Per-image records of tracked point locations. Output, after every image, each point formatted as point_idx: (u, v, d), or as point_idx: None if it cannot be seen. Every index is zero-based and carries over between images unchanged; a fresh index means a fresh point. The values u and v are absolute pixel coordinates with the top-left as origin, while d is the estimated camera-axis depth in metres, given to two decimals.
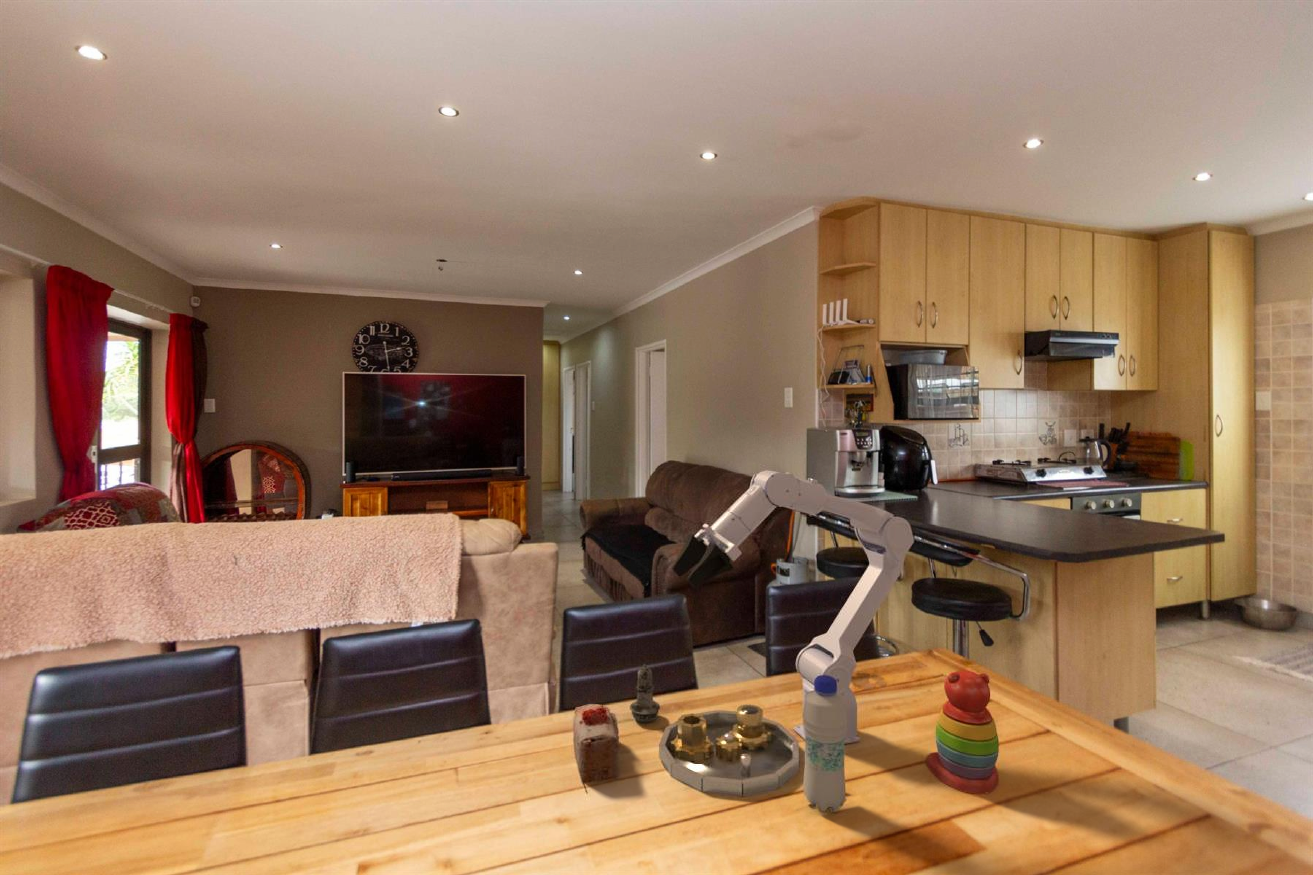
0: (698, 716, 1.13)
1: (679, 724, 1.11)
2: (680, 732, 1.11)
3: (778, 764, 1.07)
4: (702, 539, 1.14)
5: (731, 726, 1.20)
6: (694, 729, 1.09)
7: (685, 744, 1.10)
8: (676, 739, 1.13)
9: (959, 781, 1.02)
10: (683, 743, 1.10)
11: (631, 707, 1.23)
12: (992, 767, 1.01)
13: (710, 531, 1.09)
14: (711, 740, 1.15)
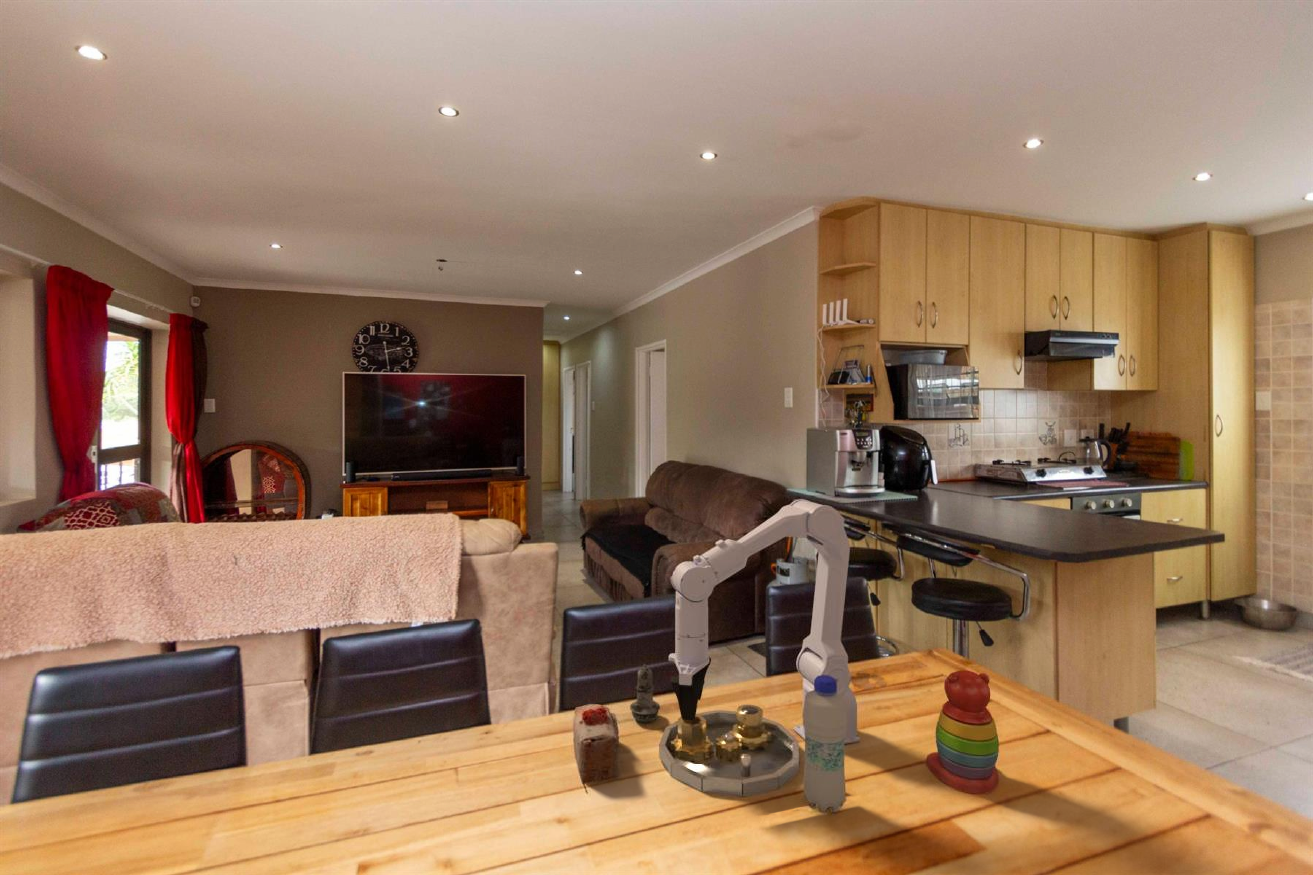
0: (698, 716, 1.13)
1: (679, 724, 1.11)
2: (680, 732, 1.11)
3: (778, 764, 1.07)
4: None
5: (731, 726, 1.20)
6: (694, 729, 1.09)
7: (685, 744, 1.10)
8: (676, 739, 1.13)
9: (959, 781, 1.02)
10: (683, 743, 1.10)
11: (631, 707, 1.23)
12: (992, 767, 1.01)
13: (673, 660, 1.11)
14: (711, 740, 1.15)
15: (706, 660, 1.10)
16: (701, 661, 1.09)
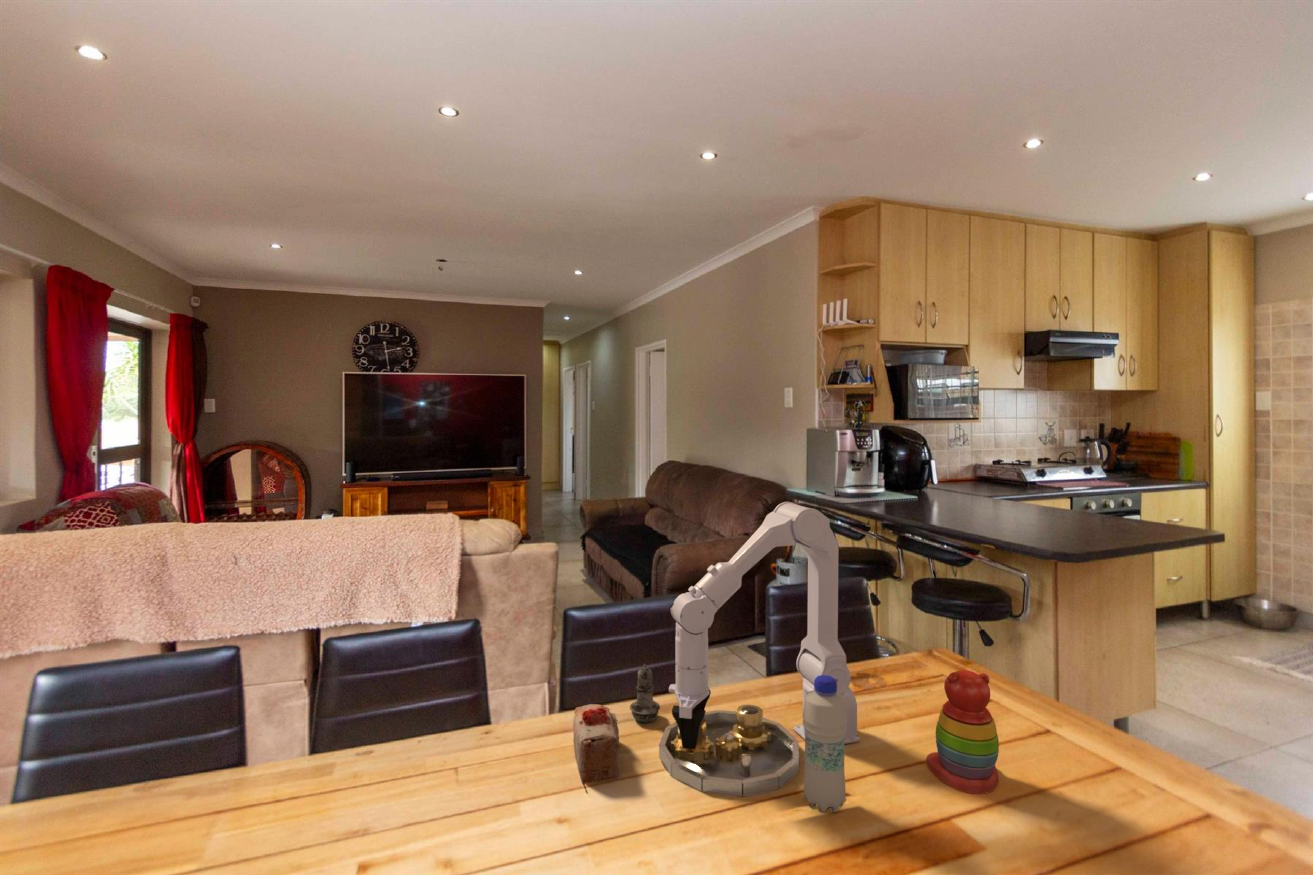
0: None
1: None
2: None
3: (778, 764, 1.07)
4: None
5: (731, 726, 1.20)
6: None
7: None
8: (676, 739, 1.13)
9: (959, 781, 1.02)
10: None
11: (631, 707, 1.23)
12: (992, 767, 1.01)
13: (674, 692, 1.11)
14: (711, 740, 1.15)
15: (706, 692, 1.10)
16: (701, 693, 1.09)
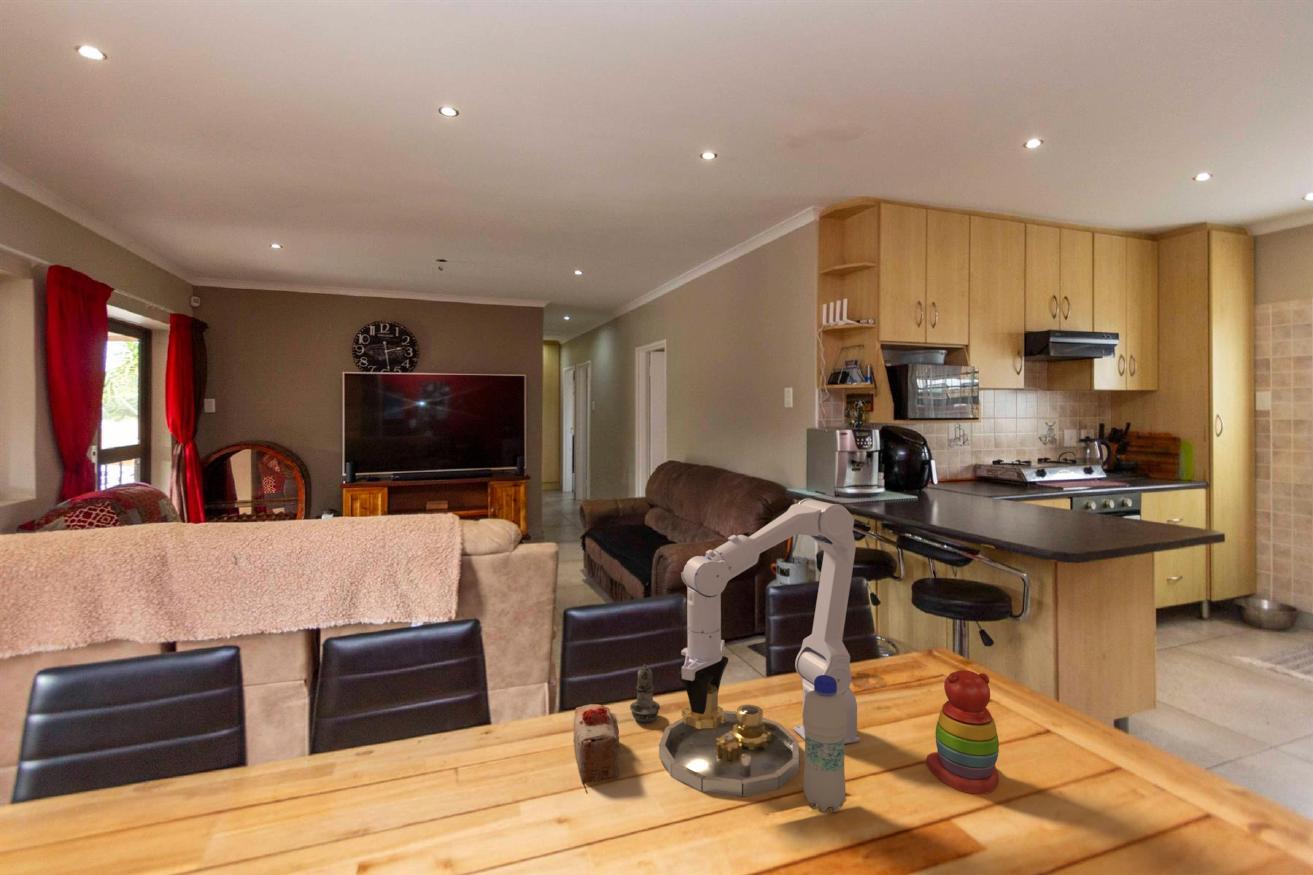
0: (712, 685, 1.11)
1: None
2: None
3: (778, 764, 1.07)
4: None
5: (731, 726, 1.20)
6: None
7: None
8: (688, 706, 1.12)
9: (959, 781, 1.02)
10: None
11: (631, 707, 1.23)
12: (992, 767, 1.01)
13: (685, 655, 1.10)
14: (711, 740, 1.15)
15: (716, 657, 1.07)
16: (710, 658, 1.07)
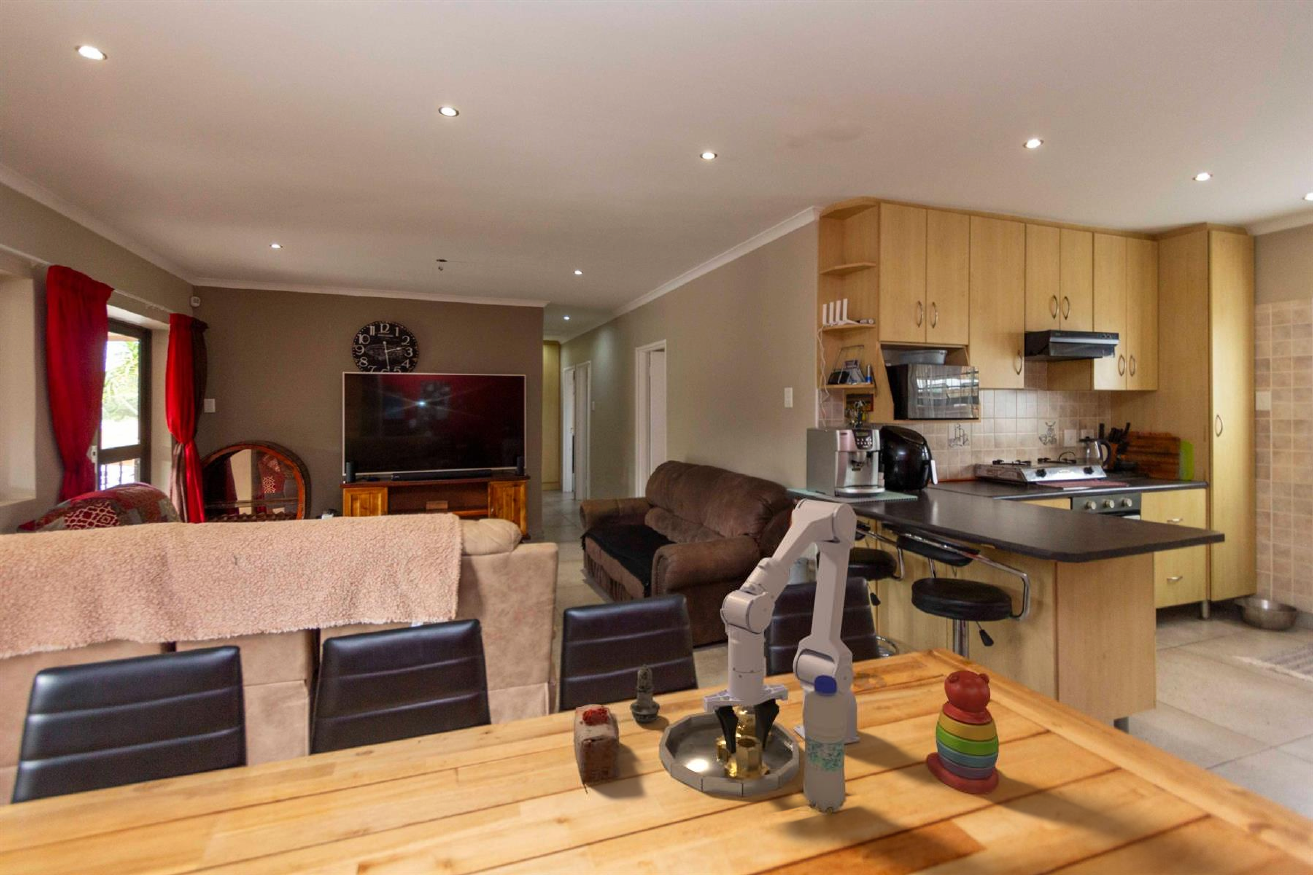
0: (758, 742, 1.04)
1: None
2: None
3: (778, 764, 1.07)
4: None
5: None
6: (739, 752, 1.02)
7: (733, 764, 1.04)
8: None
9: (959, 781, 1.02)
10: (732, 762, 1.04)
11: (631, 707, 1.23)
12: (992, 767, 1.01)
13: None
14: (711, 740, 1.15)
15: (747, 700, 1.01)
16: (739, 698, 1.01)
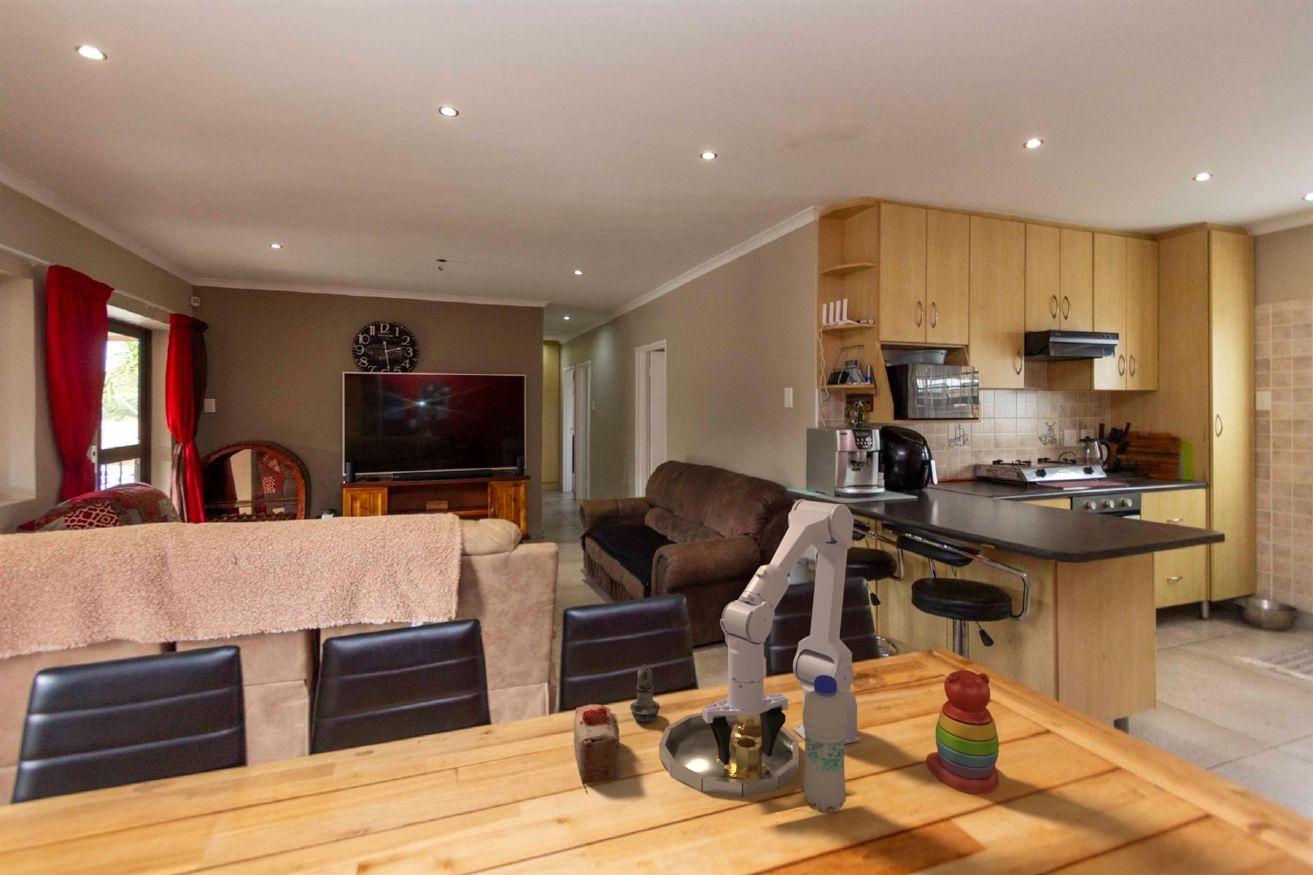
0: (758, 742, 1.04)
1: None
2: None
3: (778, 764, 1.07)
4: None
5: (731, 726, 1.20)
6: (738, 752, 1.02)
7: (733, 764, 1.04)
8: None
9: (959, 781, 1.02)
10: (732, 762, 1.04)
11: (631, 707, 1.23)
12: (992, 767, 1.01)
13: None
14: (711, 740, 1.15)
15: (747, 710, 1.01)
16: (739, 708, 1.01)
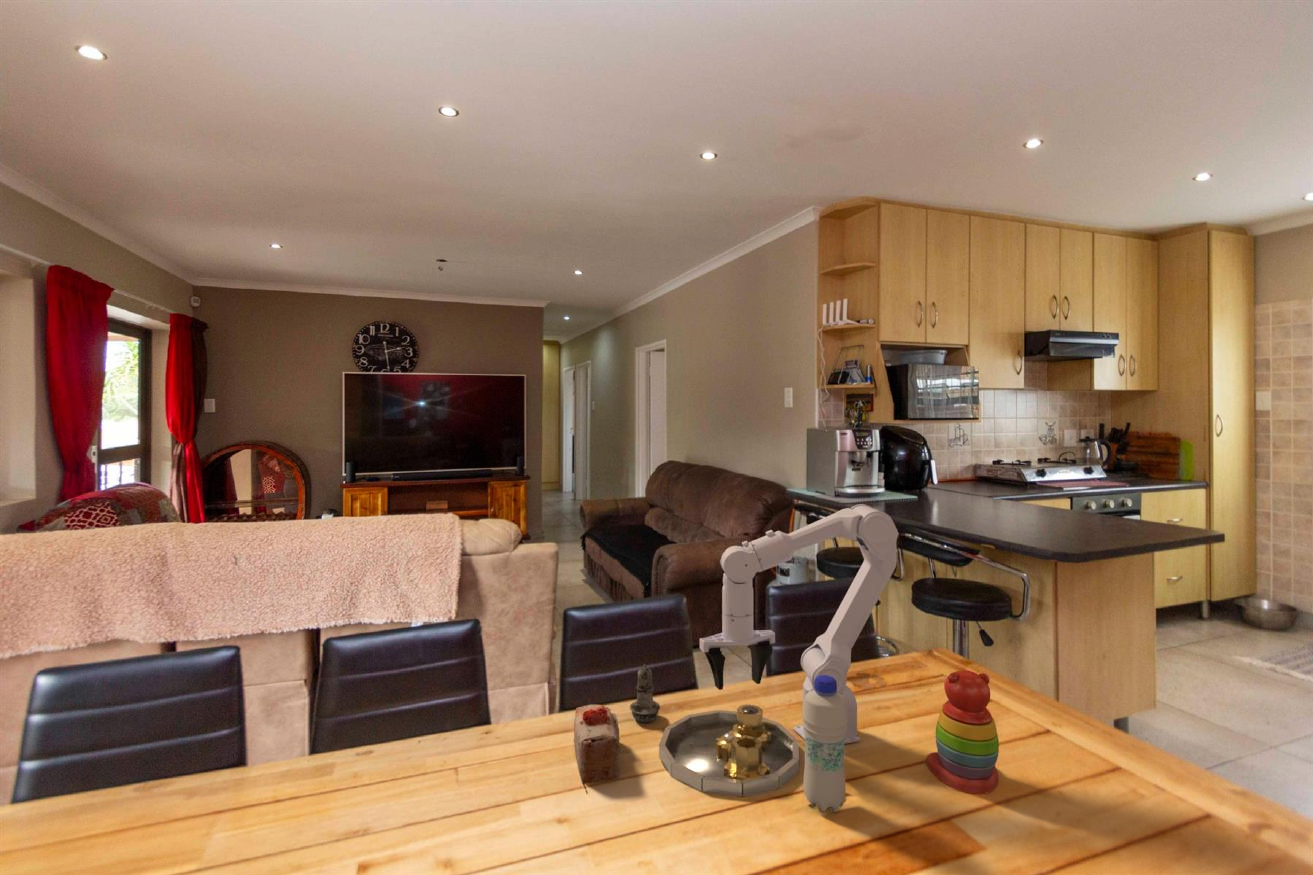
0: (758, 742, 1.04)
1: None
2: None
3: (778, 764, 1.07)
4: None
5: (731, 726, 1.20)
6: (738, 752, 1.02)
7: (733, 764, 1.04)
8: None
9: (959, 781, 1.02)
10: (732, 762, 1.04)
11: (631, 707, 1.23)
12: (992, 767, 1.01)
13: None
14: (711, 740, 1.15)
15: (738, 641, 1.15)
16: (732, 639, 1.15)
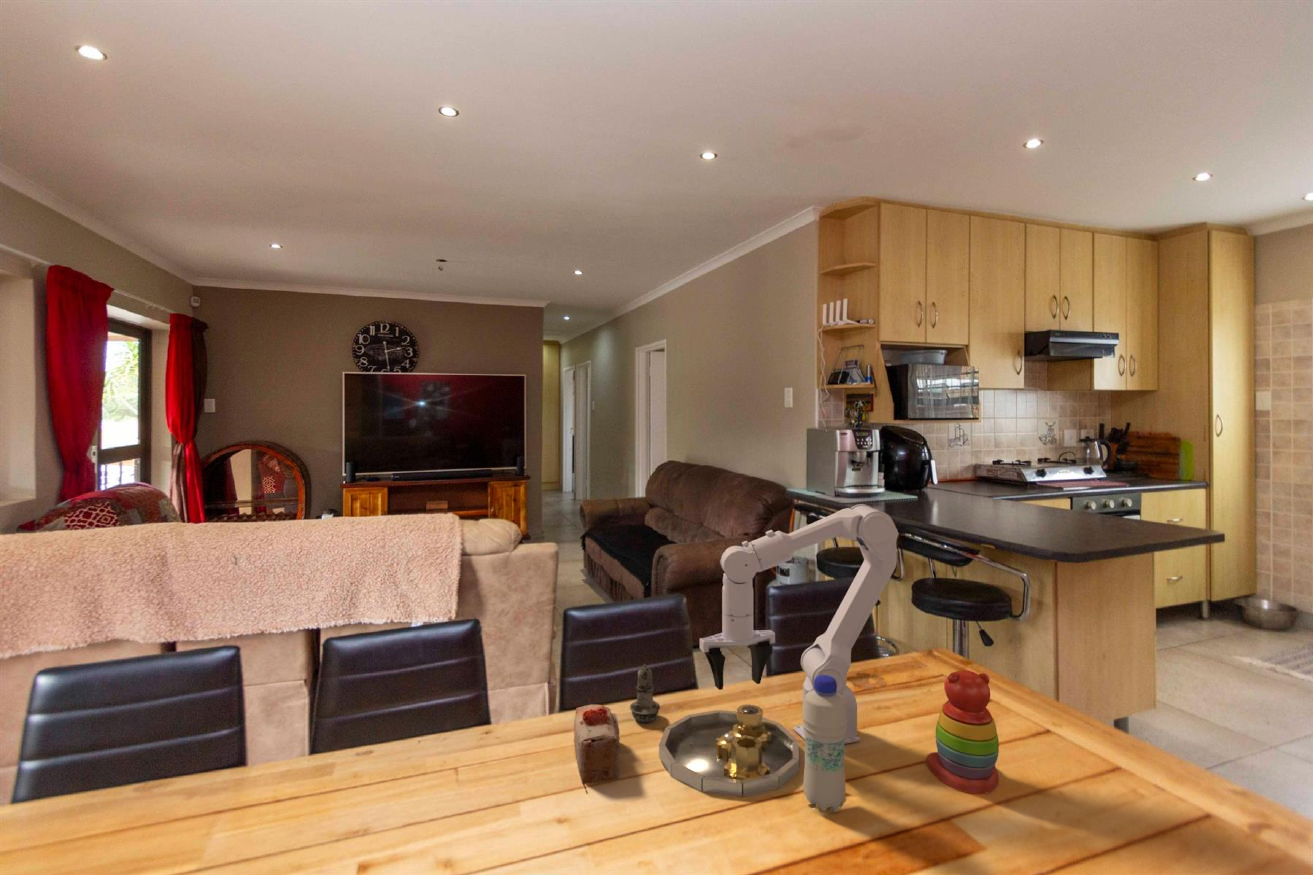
0: (758, 742, 1.04)
1: None
2: None
3: (778, 764, 1.07)
4: None
5: (731, 726, 1.20)
6: (738, 752, 1.02)
7: (733, 764, 1.04)
8: None
9: (959, 781, 1.02)
10: (732, 762, 1.04)
11: (631, 707, 1.23)
12: (992, 767, 1.01)
13: None
14: (711, 740, 1.15)
15: (738, 641, 1.15)
16: (732, 639, 1.15)
